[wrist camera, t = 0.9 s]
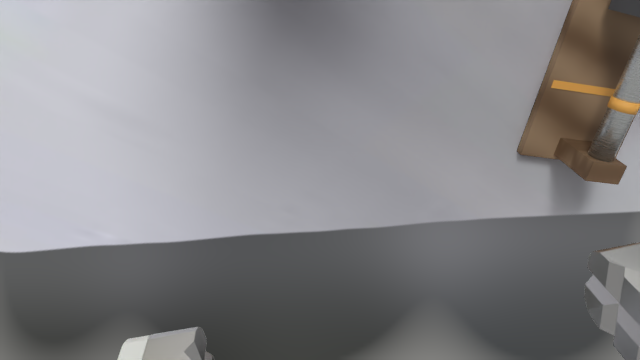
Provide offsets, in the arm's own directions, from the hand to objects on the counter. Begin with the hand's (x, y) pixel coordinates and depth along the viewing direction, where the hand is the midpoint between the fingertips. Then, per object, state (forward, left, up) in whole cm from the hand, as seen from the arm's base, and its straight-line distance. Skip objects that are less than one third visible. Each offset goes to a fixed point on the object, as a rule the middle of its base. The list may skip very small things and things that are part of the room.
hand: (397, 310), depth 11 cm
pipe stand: (-1, +32, -41) cm, 51 cm away
